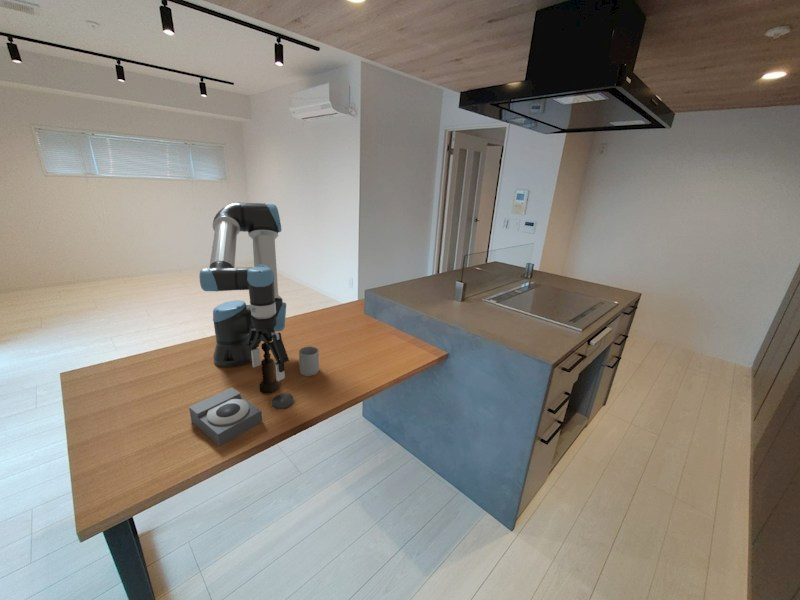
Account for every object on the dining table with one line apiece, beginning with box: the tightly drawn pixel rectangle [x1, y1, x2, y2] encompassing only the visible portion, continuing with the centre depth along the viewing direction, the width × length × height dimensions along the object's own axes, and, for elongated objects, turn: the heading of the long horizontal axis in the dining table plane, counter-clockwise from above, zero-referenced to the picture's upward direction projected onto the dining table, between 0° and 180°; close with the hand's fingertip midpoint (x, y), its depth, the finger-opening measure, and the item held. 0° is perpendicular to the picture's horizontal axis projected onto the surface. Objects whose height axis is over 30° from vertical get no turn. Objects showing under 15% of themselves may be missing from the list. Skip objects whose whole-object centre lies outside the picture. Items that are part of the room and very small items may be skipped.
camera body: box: [188, 387, 263, 447], centre depth 100 cm, size 16×13×5 cm
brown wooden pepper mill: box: [258, 342, 281, 395], centre depth 114 cm, size 7×6×18 cm
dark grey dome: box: [270, 392, 295, 411], centre depth 110 cm, size 7×7×1 cm
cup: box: [298, 345, 320, 377], centre depth 129 cm, size 7×10×9 cm
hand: (268, 372), depth 115 cm, fingers open, 13 cm apart
